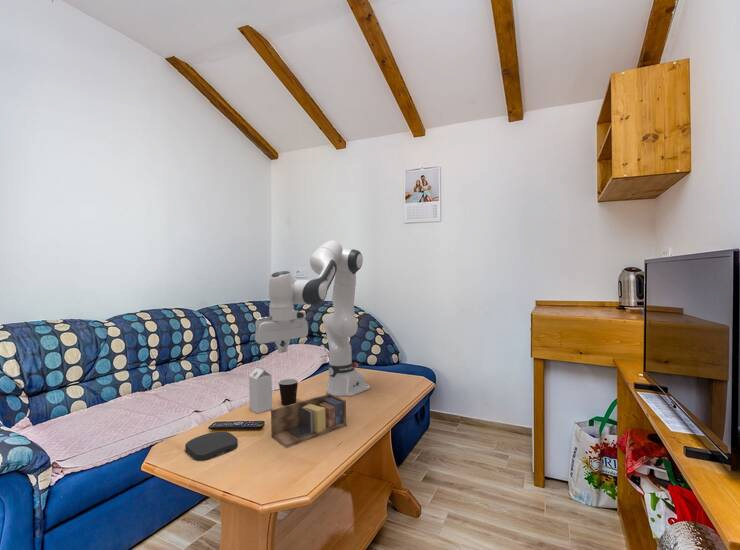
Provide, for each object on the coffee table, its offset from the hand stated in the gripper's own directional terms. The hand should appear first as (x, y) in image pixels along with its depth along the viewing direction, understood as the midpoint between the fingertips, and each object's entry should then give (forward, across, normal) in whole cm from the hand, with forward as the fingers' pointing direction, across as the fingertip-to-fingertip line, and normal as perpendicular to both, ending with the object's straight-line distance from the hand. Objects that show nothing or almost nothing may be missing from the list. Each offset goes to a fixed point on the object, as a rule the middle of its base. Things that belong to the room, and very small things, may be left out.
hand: (282, 352), depth 139 cm
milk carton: (+31, +4, +29) cm, 43 cm away
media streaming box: (+31, -24, +7) cm, 40 cm away
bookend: (+30, +3, -5) cm, 30 cm away
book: (+30, +9, -6) cm, 32 cm away
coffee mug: (+31, +18, +28) cm, 45 cm away
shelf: (+31, +8, -5) cm, 32 cm away
